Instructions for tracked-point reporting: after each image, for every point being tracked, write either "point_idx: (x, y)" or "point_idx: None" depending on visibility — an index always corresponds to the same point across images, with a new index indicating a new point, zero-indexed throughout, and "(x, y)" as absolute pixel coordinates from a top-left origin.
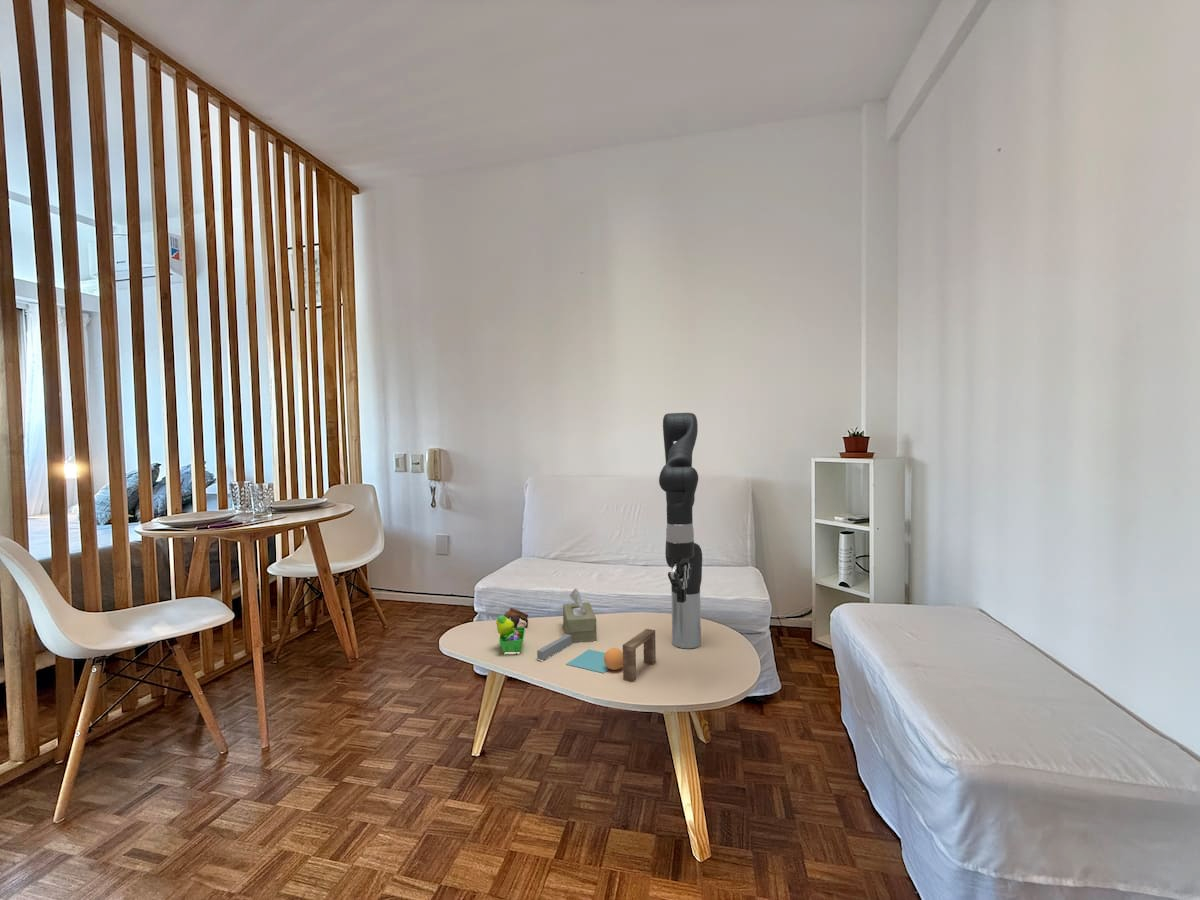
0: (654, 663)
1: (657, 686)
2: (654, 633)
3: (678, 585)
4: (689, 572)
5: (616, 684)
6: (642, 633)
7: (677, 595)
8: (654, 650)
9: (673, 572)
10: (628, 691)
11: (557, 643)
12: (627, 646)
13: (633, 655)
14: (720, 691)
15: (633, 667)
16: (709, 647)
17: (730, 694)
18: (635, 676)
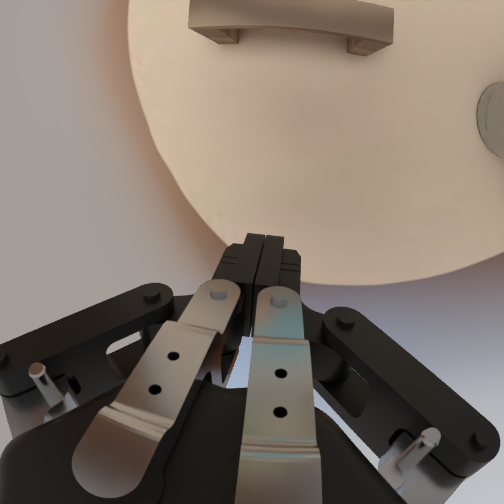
0: (357, 54)
1: (224, 106)
2: (383, 43)
3: (121, 349)
4: (366, 443)
5: None
6: (337, 6)
7: (220, 264)
8: (366, 50)
9: (11, 409)
10: (169, 59)
11: None
12: (189, 11)
13: (205, 32)
14: None
15: (214, 38)
16: (496, 179)
17: None
18: (232, 42)
